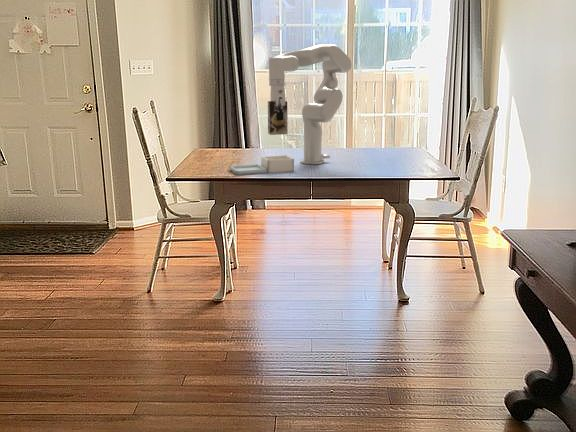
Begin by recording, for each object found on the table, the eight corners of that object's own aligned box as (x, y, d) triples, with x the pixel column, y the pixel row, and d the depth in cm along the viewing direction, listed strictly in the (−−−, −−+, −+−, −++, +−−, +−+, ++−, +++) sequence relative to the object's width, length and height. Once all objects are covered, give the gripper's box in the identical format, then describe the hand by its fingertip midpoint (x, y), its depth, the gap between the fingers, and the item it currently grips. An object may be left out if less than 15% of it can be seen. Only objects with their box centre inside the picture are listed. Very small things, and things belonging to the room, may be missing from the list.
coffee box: (270, 135, 283) (269, 102, 279) (267, 133, 289) (267, 100, 285) (288, 134, 285) (287, 101, 280) (285, 132, 291) (285, 100, 286)
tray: (258, 168, 295) (258, 164, 295) (266, 173, 283) (266, 169, 282) (230, 169, 291) (229, 166, 290) (236, 175, 278) (236, 171, 277)
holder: (286, 166, 299) (286, 155, 297) (293, 170, 289) (293, 158, 287) (261, 168, 295) (261, 156, 293) (268, 172, 284) (267, 160, 283)
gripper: (290, 83, 273) (290, 121, 278) (278, 81, 289) (279, 117, 294) (275, 84, 271) (276, 121, 276) (264, 82, 287) (265, 118, 292)
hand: (277, 119), depth 285 cm, fingers closed on coffee box, 6 cm apart
